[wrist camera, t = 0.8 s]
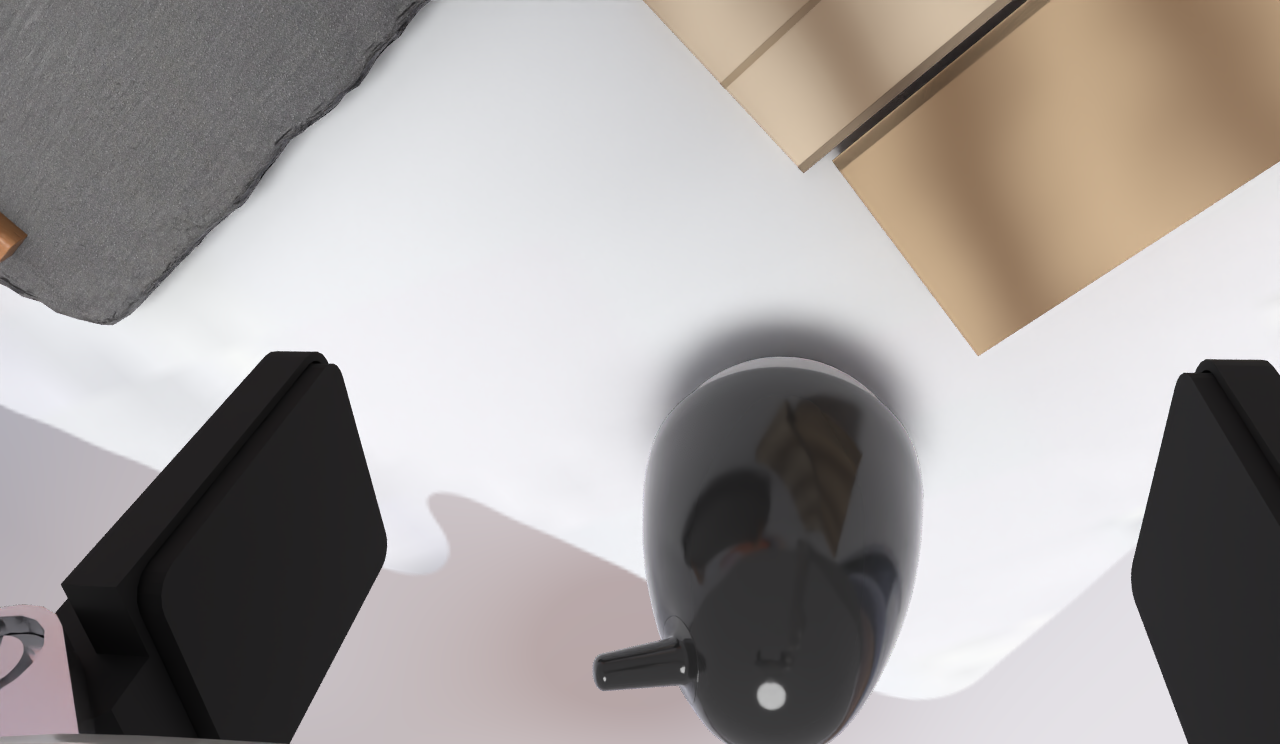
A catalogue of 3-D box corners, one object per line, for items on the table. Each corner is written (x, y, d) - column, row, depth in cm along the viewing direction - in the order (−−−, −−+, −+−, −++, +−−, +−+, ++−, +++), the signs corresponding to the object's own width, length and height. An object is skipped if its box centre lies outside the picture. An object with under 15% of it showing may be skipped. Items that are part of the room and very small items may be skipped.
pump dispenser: (666, 299, 38) (591, 576, 26) (939, 336, 37) (1001, 642, 25) (646, 501, 44) (576, 811, 31) (884, 538, 43) (911, 873, 30)
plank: (1568, -435, 24) (1588, -460, 23) (1796, -180, 23) (1828, -194, 22) (841, 160, 34) (832, 160, 33) (982, 349, 33) (978, 355, 32)
